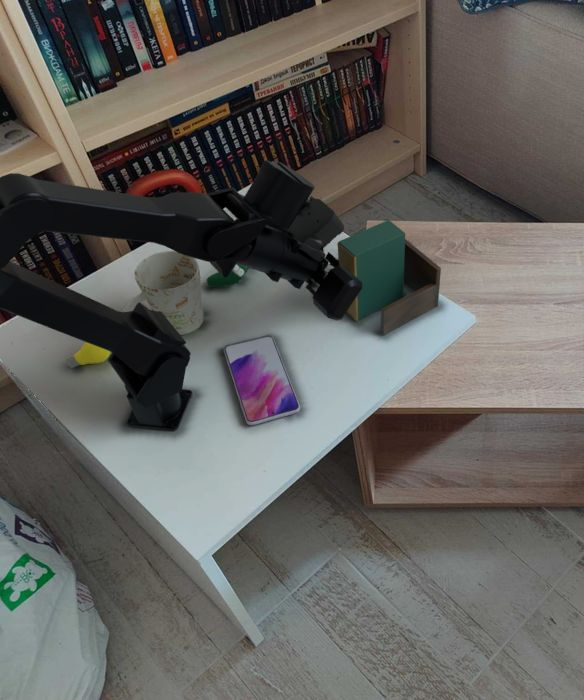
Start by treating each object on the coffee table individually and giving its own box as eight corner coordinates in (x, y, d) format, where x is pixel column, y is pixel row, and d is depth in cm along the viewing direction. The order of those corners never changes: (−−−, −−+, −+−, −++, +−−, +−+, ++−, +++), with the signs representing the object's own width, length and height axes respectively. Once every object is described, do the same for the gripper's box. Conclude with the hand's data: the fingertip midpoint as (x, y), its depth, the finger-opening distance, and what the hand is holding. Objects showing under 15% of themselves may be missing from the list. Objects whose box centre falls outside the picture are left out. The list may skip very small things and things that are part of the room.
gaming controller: (221, 299, 106) (243, 284, 103) (202, 283, 104) (223, 267, 101) (246, 263, 113) (267, 248, 109) (228, 247, 111) (249, 232, 107)
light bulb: (113, 342, 95) (118, 359, 93) (72, 362, 94) (77, 380, 92) (99, 328, 92) (104, 346, 90) (56, 349, 91) (61, 368, 89)
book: (356, 322, 103) (354, 256, 94) (341, 307, 105) (337, 241, 96) (403, 298, 108) (405, 233, 98) (387, 284, 110) (388, 219, 100)
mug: (223, 318, 101) (211, 267, 94) (154, 367, 94) (134, 316, 86) (185, 294, 104) (171, 242, 97) (115, 339, 96) (93, 288, 89)
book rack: (383, 335, 102) (384, 297, 96) (332, 286, 108) (329, 247, 102) (437, 306, 107) (441, 268, 101) (385, 261, 114) (386, 222, 108)
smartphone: (272, 333, 99) (301, 408, 90) (272, 337, 99) (301, 413, 91) (221, 345, 96) (246, 424, 87) (222, 349, 97) (247, 428, 88)
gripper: (345, 234, 79) (416, 267, 93) (261, 162, 88) (338, 201, 101) (295, 311, 81) (372, 332, 95) (218, 232, 90) (299, 262, 103)
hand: (345, 278), depth 98 cm, fingers closed, pressing on book
